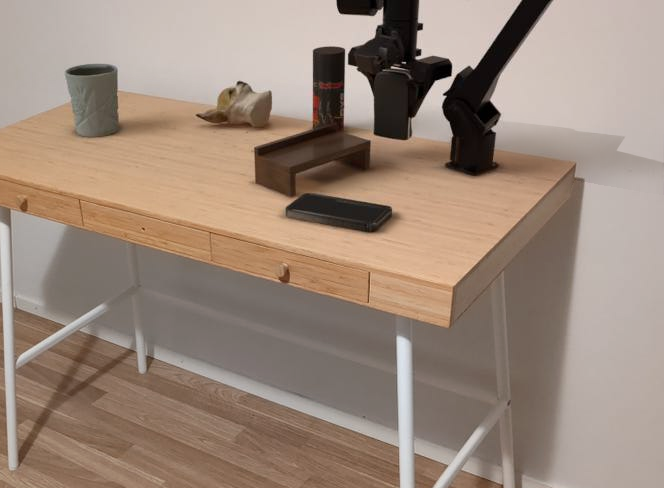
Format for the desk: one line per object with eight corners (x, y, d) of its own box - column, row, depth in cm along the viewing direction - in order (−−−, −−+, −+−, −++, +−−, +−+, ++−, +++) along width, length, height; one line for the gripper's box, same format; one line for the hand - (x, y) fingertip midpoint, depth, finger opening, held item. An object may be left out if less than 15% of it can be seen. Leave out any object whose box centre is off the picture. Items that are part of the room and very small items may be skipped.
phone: (374, 225, 130) (282, 209, 137) (373, 233, 131) (283, 215, 138) (394, 206, 136) (306, 191, 143) (394, 213, 136) (306, 198, 143)
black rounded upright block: (417, 136, 155) (421, 69, 149) (406, 142, 153) (409, 74, 147) (382, 130, 159) (385, 64, 153) (371, 136, 157) (373, 69, 151)
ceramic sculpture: (256, 89, 167) (190, 86, 174) (259, 135, 171) (195, 130, 179) (283, 75, 174) (219, 73, 182) (286, 120, 179) (223, 116, 186)
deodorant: (342, 135, 169) (343, 54, 161) (310, 135, 170) (310, 54, 162) (345, 126, 174) (346, 46, 166) (314, 125, 175) (314, 46, 167)
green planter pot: (63, 134, 179) (54, 73, 173) (94, 120, 186) (87, 60, 180) (103, 140, 174) (95, 78, 168) (134, 125, 181) (127, 65, 175)
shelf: (369, 169, 153) (371, 133, 150) (290, 197, 144) (289, 160, 141) (333, 156, 159) (333, 122, 156) (255, 183, 151) (253, 147, 147)
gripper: (324, 18, 148) (324, 112, 156) (409, 34, 135) (403, 136, 144) (372, 8, 154) (369, 99, 162) (458, 22, 141) (450, 120, 149)
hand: (395, 113), depth 154 cm, fingers closed on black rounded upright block, 7 cm apart
